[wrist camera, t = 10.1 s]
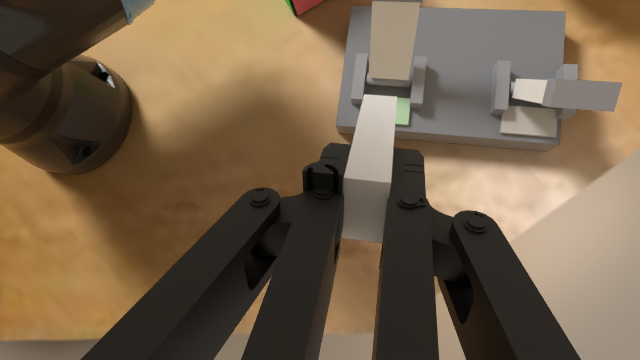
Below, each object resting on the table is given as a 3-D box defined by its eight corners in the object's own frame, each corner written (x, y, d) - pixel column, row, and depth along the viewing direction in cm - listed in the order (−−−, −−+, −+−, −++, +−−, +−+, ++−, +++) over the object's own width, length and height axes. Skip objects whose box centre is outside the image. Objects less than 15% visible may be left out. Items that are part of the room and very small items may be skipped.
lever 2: (505, 97, 37) (548, 107, 27) (509, 77, 36) (555, 78, 26) (552, 100, 36) (615, 111, 26) (557, 80, 36) (623, 82, 25)
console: (338, 133, 42) (334, 120, 38) (353, 20, 44) (350, -4, 39) (551, 152, 38) (575, 140, 34) (557, 28, 40) (580, 1, 36)
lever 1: (366, 89, 38) (370, -19, 30) (368, 77, 39) (373, -30, 31) (408, 92, 37) (426, -18, 29) (409, 80, 39) (426, -29, 30)
